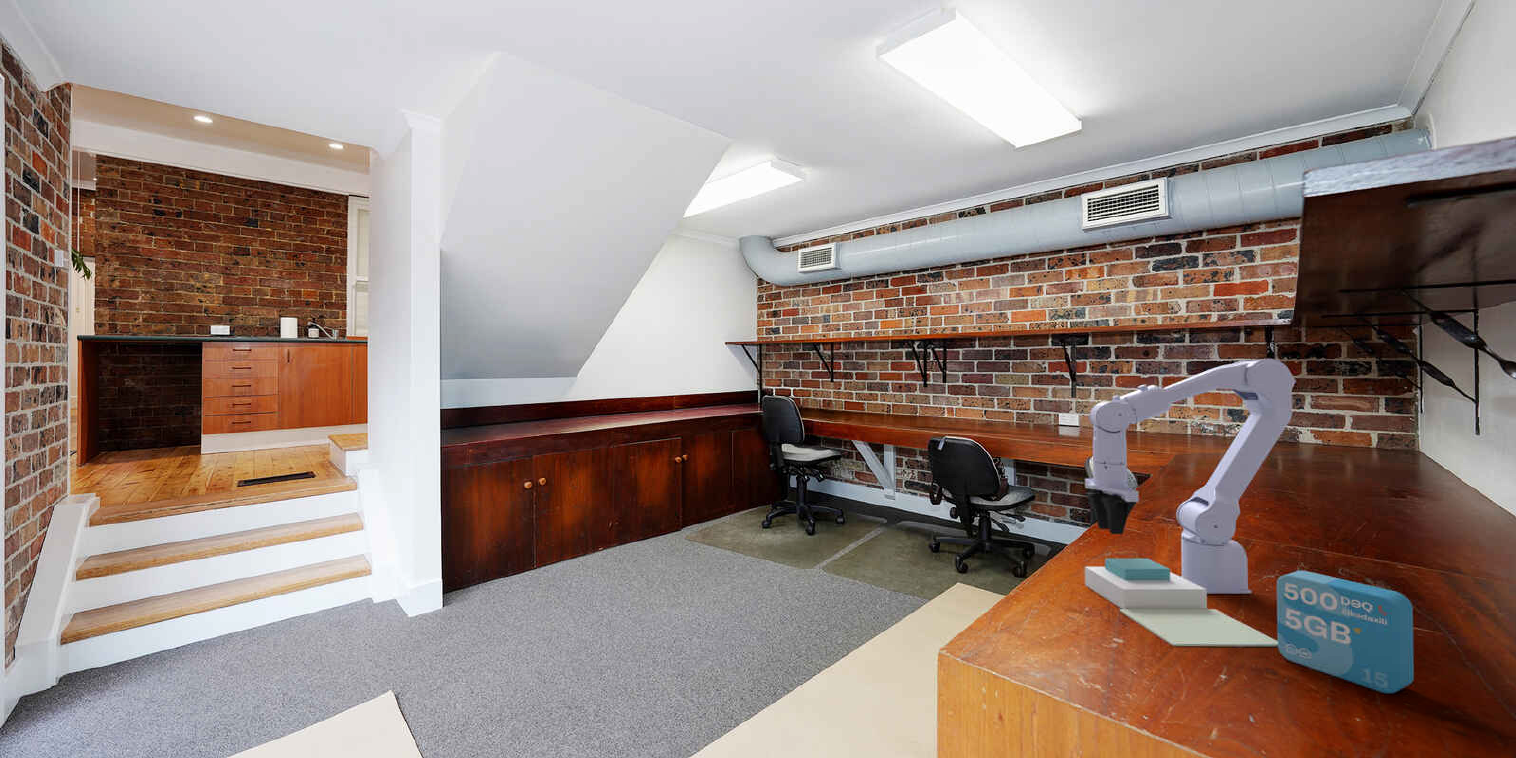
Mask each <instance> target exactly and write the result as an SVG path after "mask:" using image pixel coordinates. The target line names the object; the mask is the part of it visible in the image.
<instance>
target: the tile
mask: <svg viewBox="0 0 1516 758" xmlns="http://www.w3.org/2000/svg"><path fill="white" fill-rule="evenodd" d="M1104 567H1105V569H1106V570H1107V571H1109V572H1111V573H1113V574H1115V575H1116V576H1118V577H1120V578H1122V579H1124V580H1170V572H1171V568H1169V567H1166V566H1164V565H1162V564H1160V563H1158V562H1156V561H1155V560H1152V559H1149V558H1105V559H1104Z"/></svg>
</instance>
